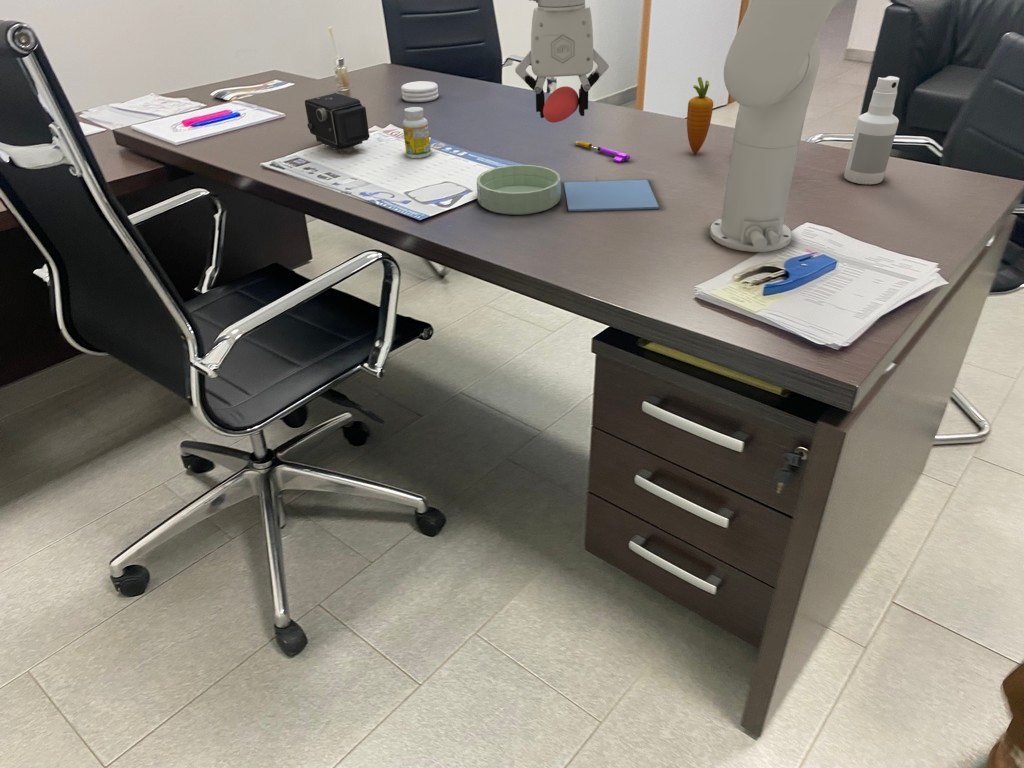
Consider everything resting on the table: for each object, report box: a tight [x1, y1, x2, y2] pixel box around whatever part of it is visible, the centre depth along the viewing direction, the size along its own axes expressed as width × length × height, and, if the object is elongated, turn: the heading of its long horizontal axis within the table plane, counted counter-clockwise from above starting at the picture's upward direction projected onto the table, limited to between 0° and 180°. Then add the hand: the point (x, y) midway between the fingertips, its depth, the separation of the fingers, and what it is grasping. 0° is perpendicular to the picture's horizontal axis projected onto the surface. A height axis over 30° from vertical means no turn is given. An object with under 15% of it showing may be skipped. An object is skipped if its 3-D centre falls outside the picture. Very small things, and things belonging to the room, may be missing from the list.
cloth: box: [563, 179, 660, 212], centre depth 133 cm, size 14×16×1 cm
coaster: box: [400, 80, 439, 103], centre depth 196 cm, size 10×10×4 cm
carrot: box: [686, 76, 714, 155], centre depth 147 cm, size 5×5×15 cm
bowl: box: [476, 164, 562, 216], centre depth 132 cm, size 15×15×4 cm
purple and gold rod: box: [574, 140, 631, 164], centre depth 153 cm, size 3×1×16 cm
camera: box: [304, 92, 370, 154], centre depth 159 cm, size 11×11×15 cm
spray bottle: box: [843, 75, 900, 186], centre depth 131 cm, size 7×7×18 cm
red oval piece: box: [543, 85, 579, 124], centre depth 123 cm, size 5×9×6 cm
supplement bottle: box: [402, 106, 432, 159], centre depth 154 cm, size 5×5×10 cm
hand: (561, 114), depth 124 cm, fingers closed on red oval piece, 6 cm apart
